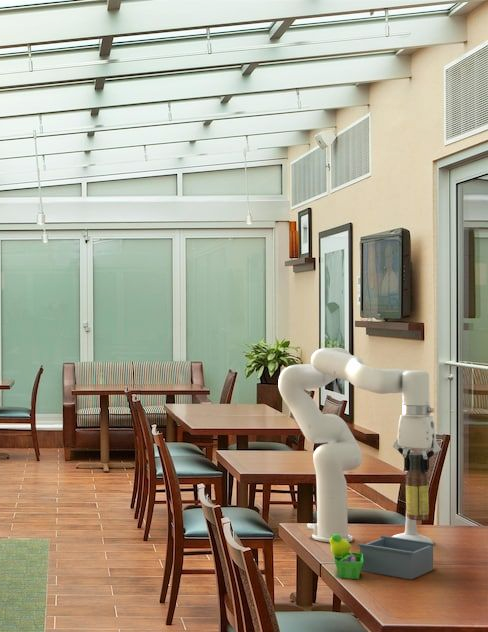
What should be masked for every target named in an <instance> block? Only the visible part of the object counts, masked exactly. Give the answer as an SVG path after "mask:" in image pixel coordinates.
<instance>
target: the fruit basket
mask: <svg viewBox="0 0 488 632" xmlns="http://www.w3.org/2000/svg"><path fill="white" fill-rule="evenodd" d="M331 536H332V537H331V538H330V542H329V544H330V545H329V546H330V551H331V553H332V555H333V561H334V564H335V568H336V572H337V575H338V578H340V579H351V580H353V579H354V580H359V579H360V575H361V572H362V571H361V567H362V565H363V554H361V553H360V552H353V551H352V552H350V550H351V548H352V545H351V542H347V541H346V540H345V539H343V538H342V537H341V536H340V535H339V534H334V535H333V534H332V535H331Z"/></svg>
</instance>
